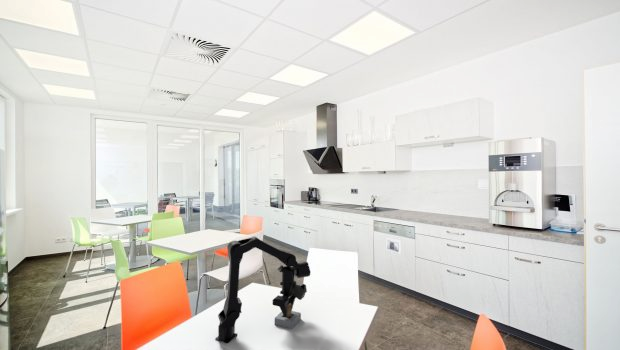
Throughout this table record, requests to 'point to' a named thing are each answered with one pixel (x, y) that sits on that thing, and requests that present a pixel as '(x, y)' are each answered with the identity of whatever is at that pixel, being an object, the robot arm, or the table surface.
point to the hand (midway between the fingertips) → (287, 313)
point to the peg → (288, 312)
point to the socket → (288, 320)
